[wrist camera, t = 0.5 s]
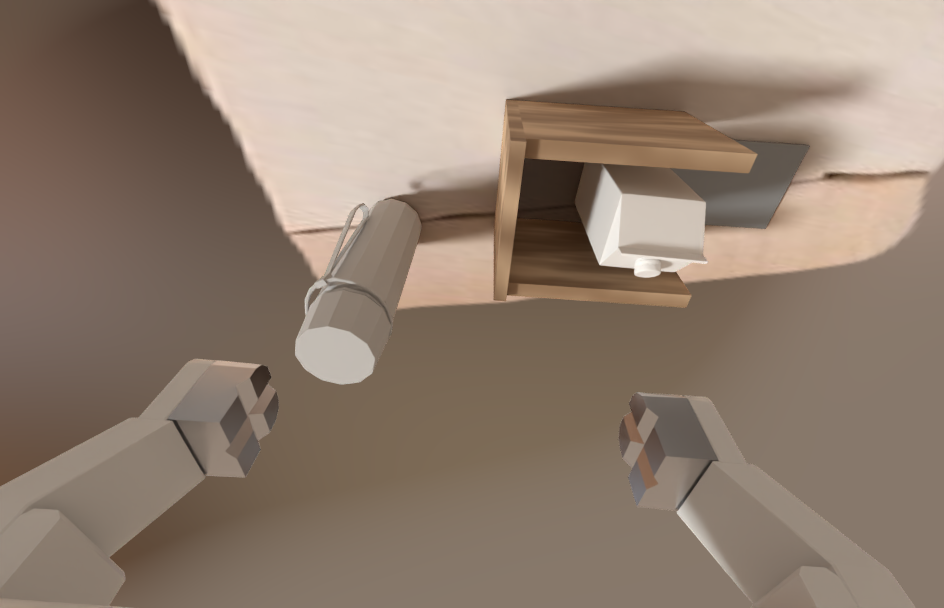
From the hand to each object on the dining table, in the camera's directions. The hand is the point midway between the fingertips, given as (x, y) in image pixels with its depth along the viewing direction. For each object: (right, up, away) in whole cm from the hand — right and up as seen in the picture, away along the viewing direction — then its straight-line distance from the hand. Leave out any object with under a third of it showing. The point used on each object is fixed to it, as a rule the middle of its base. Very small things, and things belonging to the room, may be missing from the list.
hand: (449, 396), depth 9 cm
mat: (+30, +16, +39) cm, 52 cm away
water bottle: (-10, +13, +43) cm, 46 cm away
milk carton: (+17, +17, +39) cm, 46 cm away
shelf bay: (+14, +17, +39) cm, 45 cm away
